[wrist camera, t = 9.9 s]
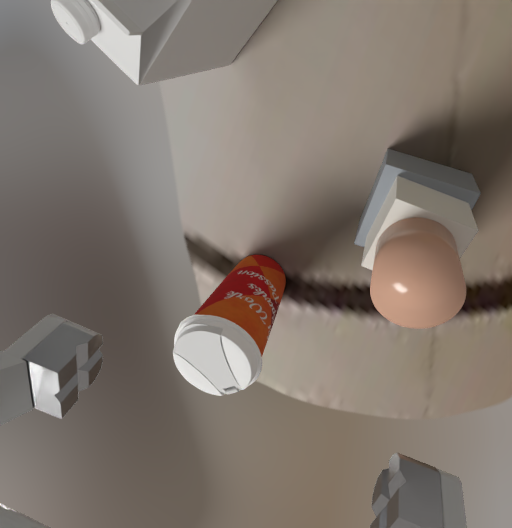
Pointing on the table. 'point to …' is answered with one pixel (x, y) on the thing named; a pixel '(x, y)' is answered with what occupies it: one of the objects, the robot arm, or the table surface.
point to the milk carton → (163, 32)
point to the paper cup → (231, 328)
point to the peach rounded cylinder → (417, 274)
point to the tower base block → (418, 172)
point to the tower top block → (421, 215)
